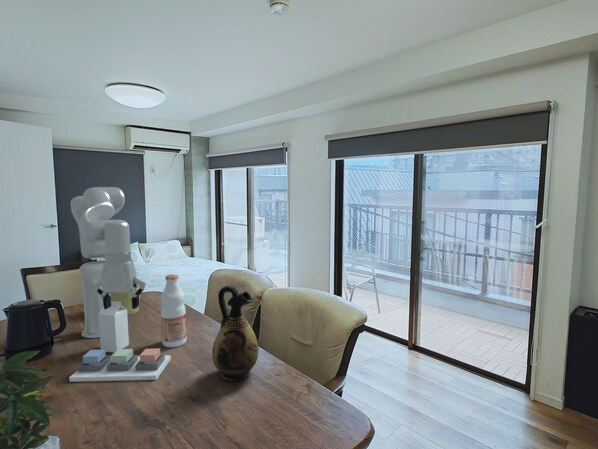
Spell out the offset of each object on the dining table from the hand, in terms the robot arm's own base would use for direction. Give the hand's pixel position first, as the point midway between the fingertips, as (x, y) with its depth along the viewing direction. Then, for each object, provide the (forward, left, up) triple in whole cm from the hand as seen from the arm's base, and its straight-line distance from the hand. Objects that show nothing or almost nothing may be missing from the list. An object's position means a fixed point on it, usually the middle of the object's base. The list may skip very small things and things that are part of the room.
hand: (121, 307), depth 118 cm
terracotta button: (-1, +8, -19) cm, 20 cm away
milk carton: (-18, -12, -23) cm, 31 cm away
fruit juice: (-22, +10, -23) cm, 33 cm away
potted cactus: (-61, -27, -23) cm, 70 cm away
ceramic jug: (+3, +38, -23) cm, 44 cm away
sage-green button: (-1, -1, -19) cm, 19 cm away
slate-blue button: (-1, -11, -19) cm, 21 cm away
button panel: (-1, -1, -22) cm, 22 cm away
